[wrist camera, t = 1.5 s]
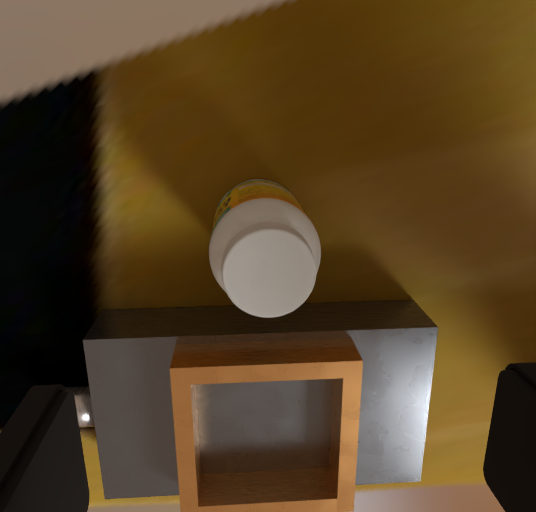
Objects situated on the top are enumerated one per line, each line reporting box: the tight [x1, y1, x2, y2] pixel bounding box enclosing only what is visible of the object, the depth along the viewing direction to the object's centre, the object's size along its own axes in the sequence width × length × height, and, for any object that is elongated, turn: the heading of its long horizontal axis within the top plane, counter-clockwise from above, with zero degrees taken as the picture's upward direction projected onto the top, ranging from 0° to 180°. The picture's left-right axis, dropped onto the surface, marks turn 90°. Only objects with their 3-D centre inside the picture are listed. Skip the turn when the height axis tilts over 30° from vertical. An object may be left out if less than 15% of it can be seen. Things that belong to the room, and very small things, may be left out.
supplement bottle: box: [209, 179, 321, 318], centre depth 24 cm, size 5×5×10 cm
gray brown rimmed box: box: [64, 300, 438, 512], centre depth 29 cm, size 23×11×6 cm, turn 90°
